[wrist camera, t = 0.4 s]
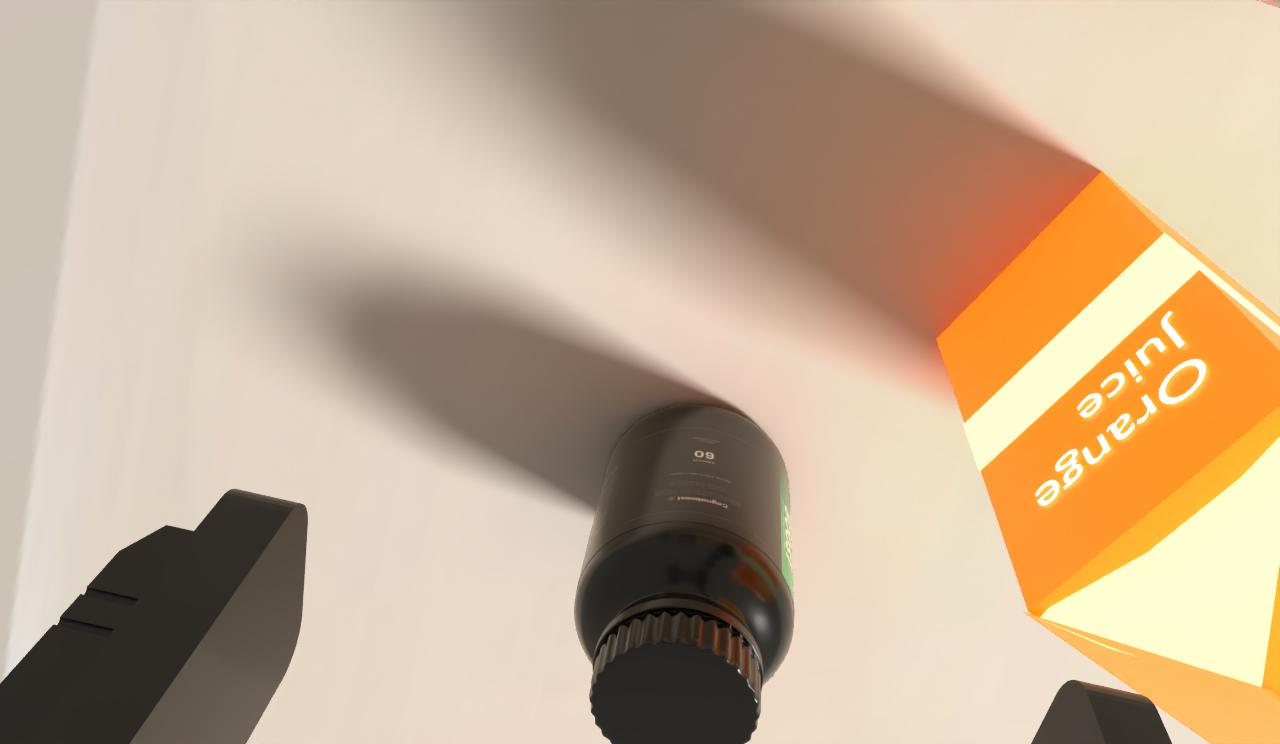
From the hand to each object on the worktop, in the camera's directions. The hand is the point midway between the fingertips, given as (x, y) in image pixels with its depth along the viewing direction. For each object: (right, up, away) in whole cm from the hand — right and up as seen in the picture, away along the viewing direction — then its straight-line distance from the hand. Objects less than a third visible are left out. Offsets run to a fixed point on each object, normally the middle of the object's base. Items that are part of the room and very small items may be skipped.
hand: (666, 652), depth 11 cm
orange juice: (+16, +4, +25) cm, 30 cm away
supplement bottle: (+2, -1, +29) cm, 30 cm away
